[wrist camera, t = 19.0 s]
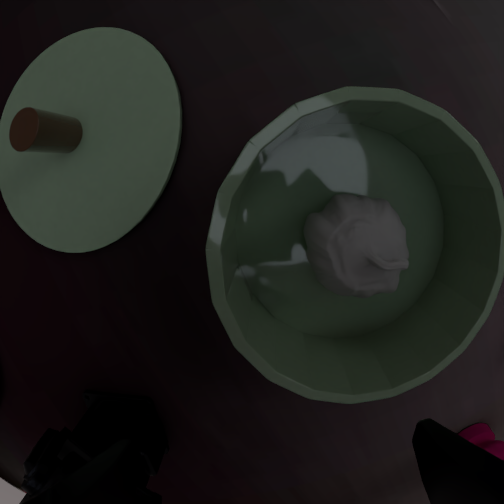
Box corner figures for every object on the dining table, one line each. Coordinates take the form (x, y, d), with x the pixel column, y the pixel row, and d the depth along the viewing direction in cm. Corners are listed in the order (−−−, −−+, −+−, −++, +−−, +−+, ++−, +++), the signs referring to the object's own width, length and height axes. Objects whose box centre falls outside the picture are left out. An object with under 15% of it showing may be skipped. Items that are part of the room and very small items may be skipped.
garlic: (409, 229, 18) (453, 248, 13) (358, 300, 19) (385, 340, 14) (332, 168, 17) (358, 165, 12) (279, 246, 18) (283, 273, 13)
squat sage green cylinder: (239, 349, 20) (228, 413, 14) (216, 122, 17) (191, 96, 11) (438, 327, 19) (483, 374, 13) (442, 120, 16) (503, 105, 10)
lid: (16, 256, 20) (-33, 276, 14) (7, 73, 16) (-39, 60, 11) (196, 239, 19) (169, 264, 13) (180, 8, 15) (154, -37, 10)
